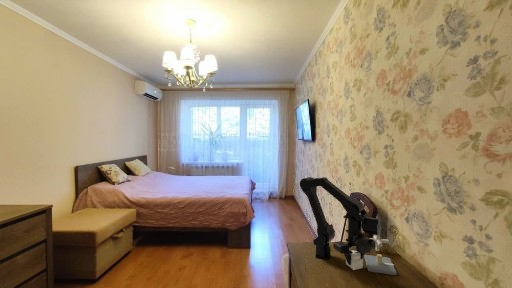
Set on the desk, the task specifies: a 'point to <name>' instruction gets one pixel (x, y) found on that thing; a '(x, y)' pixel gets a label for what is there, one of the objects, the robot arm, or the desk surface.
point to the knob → (355, 261)
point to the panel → (379, 264)
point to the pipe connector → (379, 241)
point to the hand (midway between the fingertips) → (354, 263)
